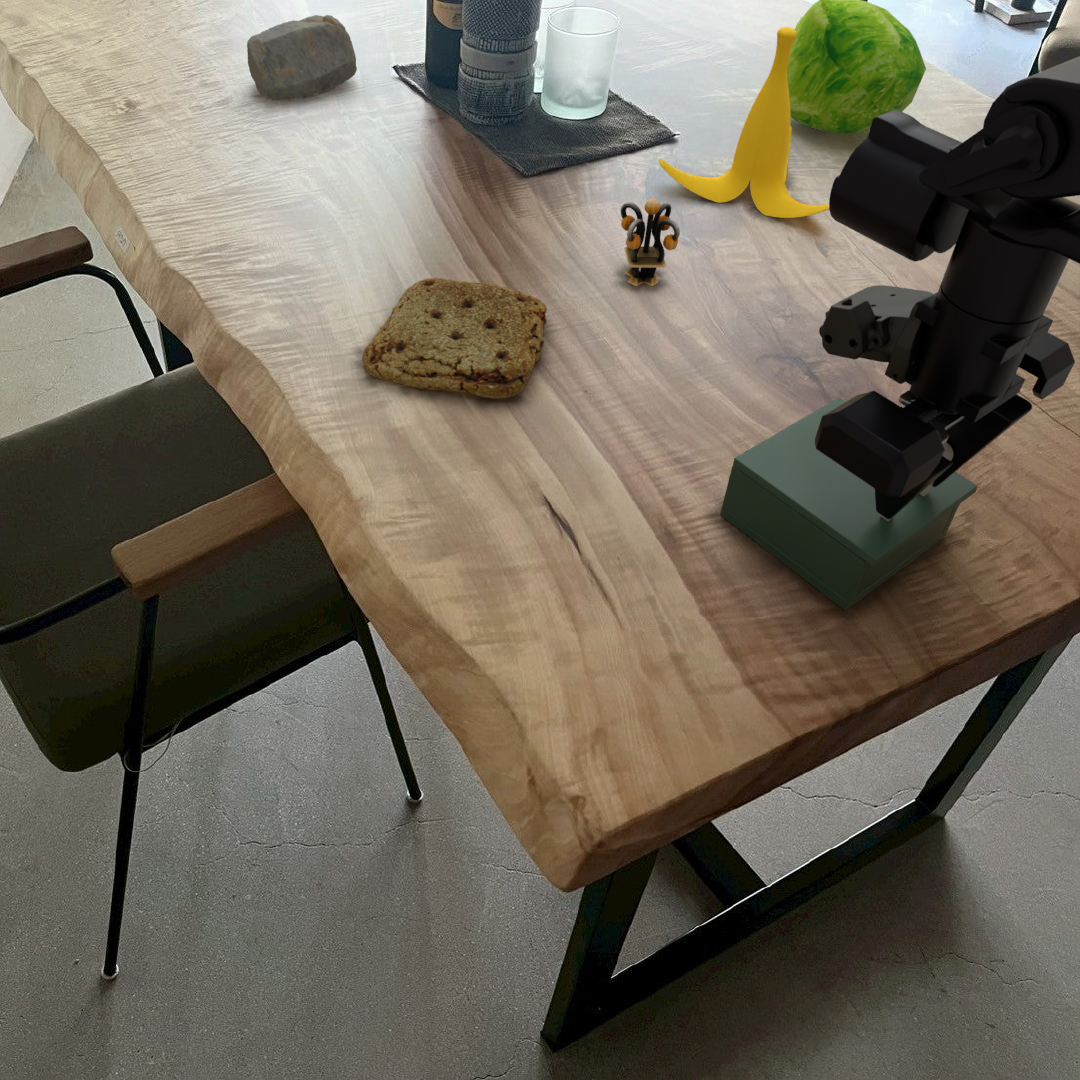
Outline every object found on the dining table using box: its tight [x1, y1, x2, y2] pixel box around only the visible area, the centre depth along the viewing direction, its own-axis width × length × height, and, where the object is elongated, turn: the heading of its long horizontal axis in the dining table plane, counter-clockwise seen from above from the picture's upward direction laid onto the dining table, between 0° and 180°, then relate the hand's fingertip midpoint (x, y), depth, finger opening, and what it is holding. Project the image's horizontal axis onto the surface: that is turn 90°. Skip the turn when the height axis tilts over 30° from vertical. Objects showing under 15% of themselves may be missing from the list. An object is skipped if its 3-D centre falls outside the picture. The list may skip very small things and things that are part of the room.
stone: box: [246, 14, 358, 101], centre depth 121 cm, size 12×8×8 cm, turn 125°
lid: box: [732, 397, 979, 566], centre depth 71 cm, size 12×12×5 cm
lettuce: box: [787, 0, 927, 136], centre depth 121 cm, size 15×20×14 cm
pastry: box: [361, 277, 548, 400], centre depth 88 cm, size 17×17×3 cm
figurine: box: [620, 198, 681, 287], centre depth 96 cm, size 5×5×8 cm
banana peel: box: [658, 26, 830, 219], centre depth 105 cm, size 17×19×17 cm
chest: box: [720, 465, 961, 611], centre depth 75 cm, size 12×12×5 cm
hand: (907, 498), depth 70 cm, fingers closed on lid, 5 cm apart
